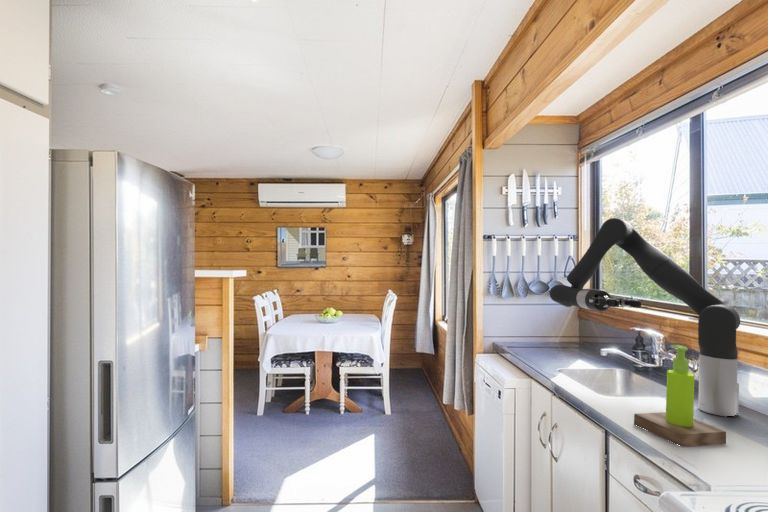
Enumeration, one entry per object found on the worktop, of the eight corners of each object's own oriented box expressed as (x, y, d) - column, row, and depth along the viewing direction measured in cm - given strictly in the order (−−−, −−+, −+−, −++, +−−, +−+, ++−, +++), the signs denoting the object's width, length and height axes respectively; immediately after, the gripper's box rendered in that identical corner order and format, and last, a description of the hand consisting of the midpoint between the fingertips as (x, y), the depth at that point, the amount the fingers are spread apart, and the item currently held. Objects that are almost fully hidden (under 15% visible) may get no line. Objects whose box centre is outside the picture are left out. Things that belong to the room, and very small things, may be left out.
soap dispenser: (684, 418, 112) (686, 344, 112) (697, 428, 105) (699, 349, 106) (660, 416, 113) (662, 342, 114) (671, 425, 106) (674, 347, 107)
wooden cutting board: (674, 422, 117) (675, 411, 117) (725, 443, 104) (726, 431, 104) (633, 424, 114) (634, 413, 114) (681, 446, 100) (681, 434, 100)
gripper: (576, 288, 148) (611, 291, 132) (610, 289, 151) (648, 293, 135) (575, 309, 147) (610, 315, 132) (609, 310, 151) (647, 316, 135)
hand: (629, 304), depth 133 cm, fingers open, 8 cm apart
